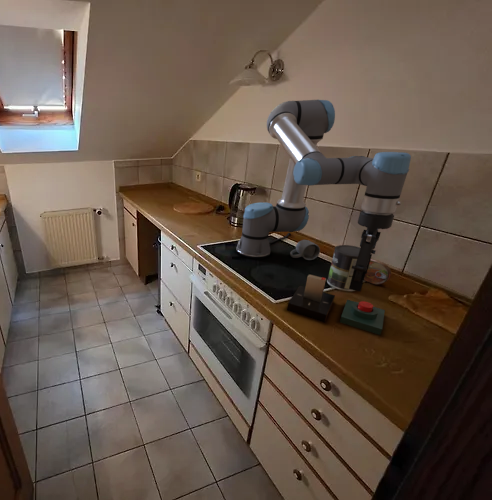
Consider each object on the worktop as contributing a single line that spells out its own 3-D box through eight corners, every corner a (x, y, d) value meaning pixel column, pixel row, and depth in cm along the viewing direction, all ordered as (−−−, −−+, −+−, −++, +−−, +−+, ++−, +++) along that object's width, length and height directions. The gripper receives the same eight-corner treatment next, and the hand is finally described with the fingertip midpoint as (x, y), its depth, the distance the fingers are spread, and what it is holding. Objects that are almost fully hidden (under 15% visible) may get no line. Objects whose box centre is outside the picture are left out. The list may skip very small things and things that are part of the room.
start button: (358, 304, 94) (359, 299, 93) (372, 308, 91) (373, 303, 91) (356, 309, 91) (358, 305, 90) (371, 314, 89) (372, 309, 88)
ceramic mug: (309, 252, 140) (311, 237, 137) (318, 260, 132) (321, 243, 129) (286, 253, 140) (288, 238, 137) (294, 261, 132) (297, 245, 129)
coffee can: (327, 287, 110) (335, 253, 105) (326, 276, 119) (334, 243, 113) (360, 294, 106) (371, 258, 100) (357, 281, 114) (367, 247, 109)
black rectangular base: (298, 292, 108) (299, 285, 107) (333, 302, 101) (335, 294, 100) (286, 310, 98) (288, 302, 97) (324, 323, 91) (326, 314, 90)
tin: (343, 271, 121) (348, 252, 118) (348, 270, 123) (353, 251, 119) (383, 288, 109) (390, 267, 105) (388, 286, 110) (395, 266, 107)
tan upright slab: (303, 297, 99) (307, 275, 96) (304, 295, 101) (309, 273, 97) (320, 302, 96) (325, 280, 93) (321, 300, 98) (326, 278, 94)
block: (345, 305, 100) (348, 294, 98) (382, 315, 94) (386, 305, 92) (339, 322, 91) (342, 311, 90) (380, 335, 86) (384, 324, 84)
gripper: (391, 225, 70) (368, 302, 78) (397, 204, 87) (377, 269, 95) (353, 220, 75) (335, 293, 83) (366, 201, 92) (350, 263, 100)
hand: (358, 280), depth 89 cm, fingers open, 13 cm apart
